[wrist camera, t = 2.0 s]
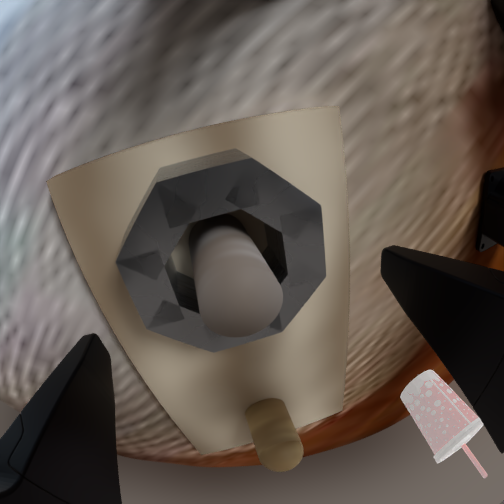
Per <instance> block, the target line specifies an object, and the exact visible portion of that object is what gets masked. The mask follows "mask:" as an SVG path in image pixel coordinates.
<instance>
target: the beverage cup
mask: <svg viewBox="0 0 504 504" xmlns="http://www.w3.org/2000/svg"><path fill="white" fill-rule="evenodd" d="M400 398H401V400H402V401H403V403H404V404H405V406H406V408H407V409H408V411H409V412H410V414H411V416H412V417H413V419H414V421H415V422H416V424H417V426H418V427H419V429H420V431H421V432H422V434H423V436H424V437H425V439H426V440H427V442H428V444H429V446H430V447H431V449H432V451H433V452H434V454H435V456H434V458H435V461H436V462H437V463H439V462H442V461H443V460H445V459H446V458H448V457H449V456H450V455H452V454H453V453H454V452H456V451H458V450H459V449H460V448H463V450H464V451H465V453H466V454H467V455H468V457H469V458H470V459H471V461H472V462H473V464H474V465H475V466H476V468H477V469H478V471H479V472H480V474H481V475H482V476H483V478H486V477H487V476H488V475H487V473H486V472H485V470H484V469H483V467H482V466H481V465H480V463H479V462H478V461H477V459H476V458H475V456H474V455H473V454H472V452H471V451H470V450H469V448H468V447H467V445H466V443H467V442H468V441H469V440H470V439H471V438H472V437H473V436H474V435H475V434H476V433H477V432H478V431H479V430H480V429H481V427H482V426H483V425H484V424H483V423H482V421H481V419H480V418H479V417H478V416H477V415H476V414H475V413H474V412H473V411H472V410H471V409H470V408H469V407H468V406H467V405H466V404H465V402H463V400H462V399H461V398H459V396H458V395H457V394H456V393H455V392H454V391H453V390H452V389H451V388H450V387H449V386H448V385H447V384H446V383H445V382H444V381H443V380H442V379H441V378H440V377H439V376H438V375H437V374H436V373H435V372H434V371H433V370H427V371H425V372H423V373H421V374H420V375H418V376H417V377H416V378H414V379H413V380H412V381H411V382H410V383H409V384H408V385H407V386H406V387H405V389H404V390H403V392H402V393H401V396H400Z"/></svg>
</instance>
